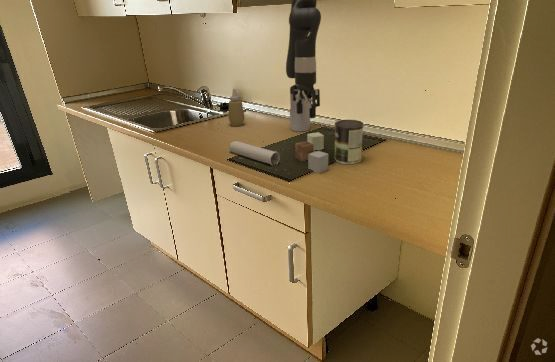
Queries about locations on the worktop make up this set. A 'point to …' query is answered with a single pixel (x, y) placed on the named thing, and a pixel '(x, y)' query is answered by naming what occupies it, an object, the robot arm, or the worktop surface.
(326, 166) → the slate grey block
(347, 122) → the coffee can
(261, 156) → the tube
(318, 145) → the pale sage block
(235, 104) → the squeeze bottle
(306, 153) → the walnut block
